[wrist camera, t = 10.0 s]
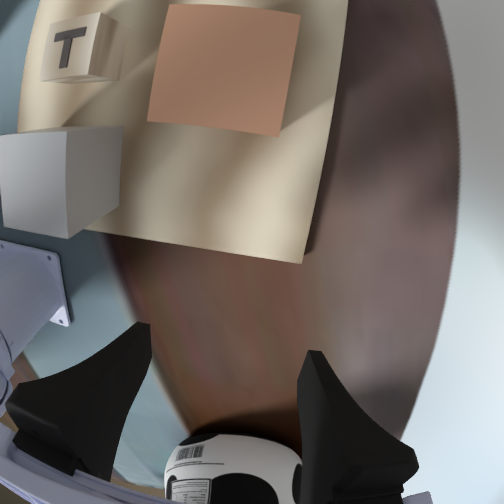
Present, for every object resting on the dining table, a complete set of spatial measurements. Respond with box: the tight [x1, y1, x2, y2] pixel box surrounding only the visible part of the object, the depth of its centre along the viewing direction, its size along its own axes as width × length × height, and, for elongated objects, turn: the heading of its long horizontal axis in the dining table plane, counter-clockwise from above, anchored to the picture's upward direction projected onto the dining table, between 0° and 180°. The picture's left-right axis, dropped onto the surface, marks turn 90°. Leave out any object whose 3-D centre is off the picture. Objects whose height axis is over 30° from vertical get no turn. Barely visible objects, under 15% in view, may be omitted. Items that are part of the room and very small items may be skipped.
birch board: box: [17, 0, 348, 264], centre depth 17 cm, size 24×20×1 cm
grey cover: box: [0, 126, 124, 239], centre depth 16 cm, size 6×6×6 cm
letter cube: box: [39, 12, 129, 84], centre depth 14 cm, size 4×4×4 cm
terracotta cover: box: [147, 4, 301, 138], centre depth 13 cm, size 6×6×6 cm
